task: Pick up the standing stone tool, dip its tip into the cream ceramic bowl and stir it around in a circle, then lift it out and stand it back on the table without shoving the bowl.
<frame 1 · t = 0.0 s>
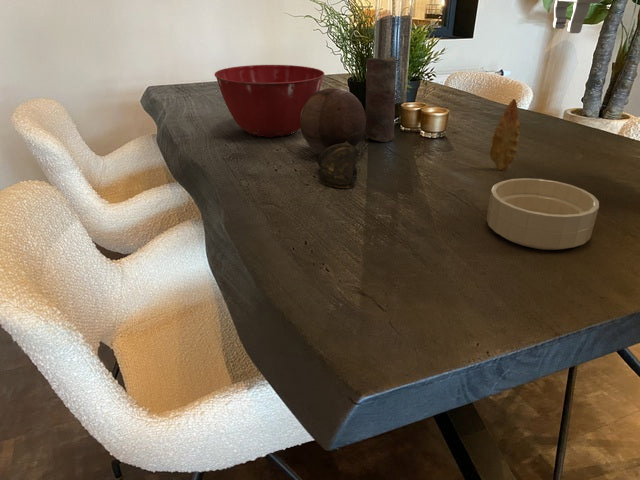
hand: (565, 30, 86), 28 cm above the table, tool pointing down, fingers open, 8 cm apart
bowl: (536, 230, 79), on the table
mixing bowl: (273, 131, 133), on the table
wooden sphere: (332, 154, 115), on the table
candle: (378, 139, 126), on the table
stone tool: (500, 170, 104), on the table
seashell: (337, 175, 102), on the table
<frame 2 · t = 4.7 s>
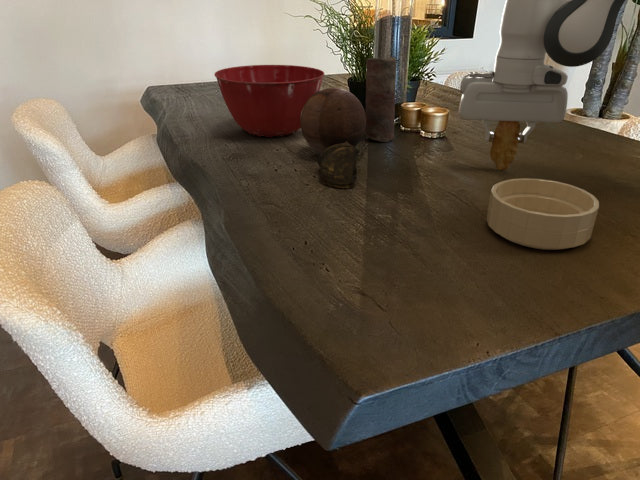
hand: (505, 141, 101), 6 cm above the table, tool pointing down, fingers closed on stone tool, 5 cm apart
wooden sphere: (332, 154, 115), on the table, touching seashell
stone tool: (500, 170, 104), on the table, touching gripper
seashell: (337, 175, 102), on the table, touching wooden sphere
everything else where it was.
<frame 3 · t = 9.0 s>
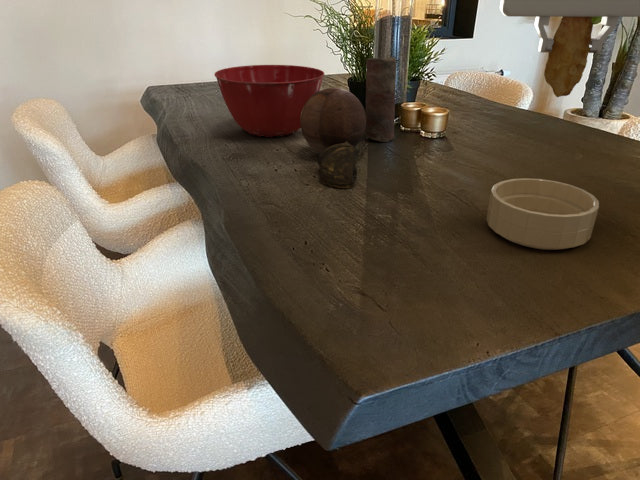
hand: (568, 52, 69), 27 cm above the table, tool pointing down, fingers closed on stone tool, 5 cm apart
stone tool: (558, 98, 72), point 20 cm above the table, touching gripper
everything else where it was.
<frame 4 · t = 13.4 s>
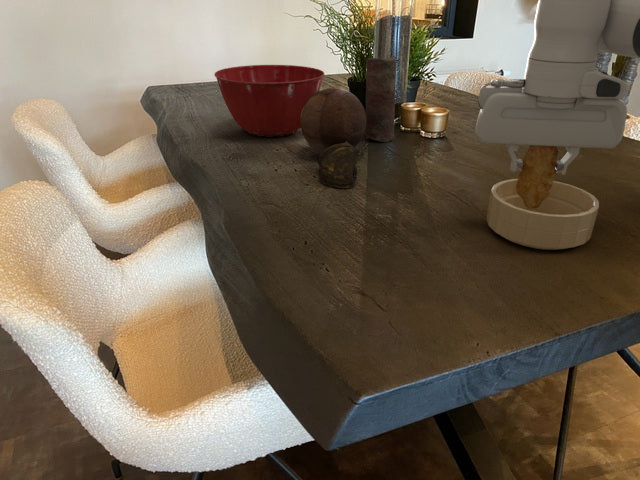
hand: (537, 172, 76), 9 cm above the table, tool pointing down, fingers closed on stone tool, 5 cm apart
stone tool: (529, 209, 79), point 3 cm above the table, touching gripper
everything else where it was.
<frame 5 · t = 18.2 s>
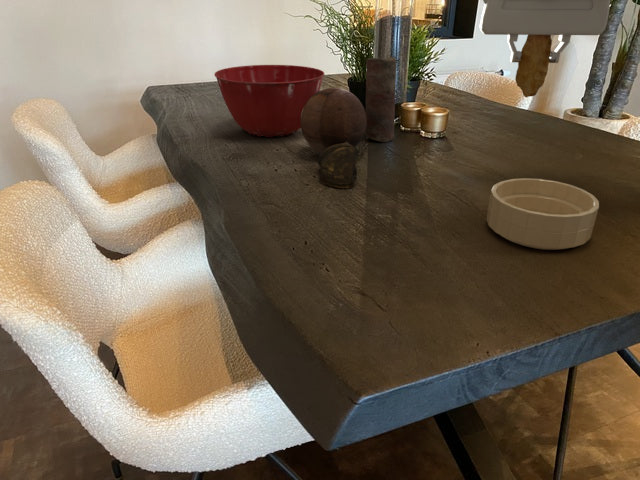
hand: (533, 62, 87), 23 cm above the table, tool pointing down, fingers closed on stone tool, 5 cm apart
stone tool: (527, 98, 90), point 16 cm above the table, touching gripper
everything else where it was.
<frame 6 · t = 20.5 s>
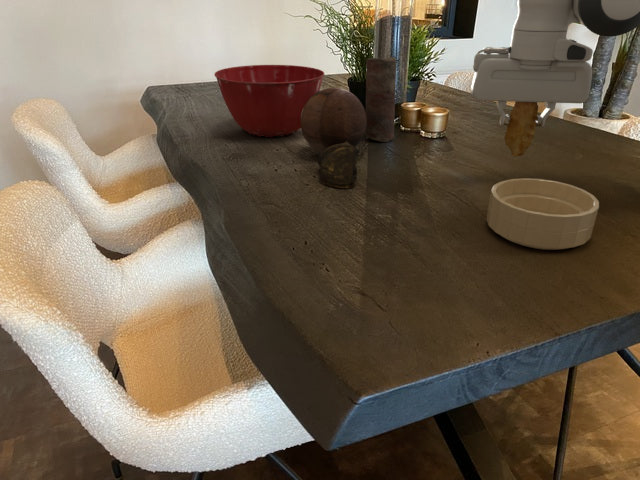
hand: (521, 125, 93), 11 cm above the table, tool pointing down, fingers closed on stone tool, 5 cm apart
stone tool: (515, 157, 96), point 5 cm above the table, touching gripper
everything else where it was.
when the fingers open (6 cm above the table, at t = 22.2 s): stone tool stays where it is, on the table.
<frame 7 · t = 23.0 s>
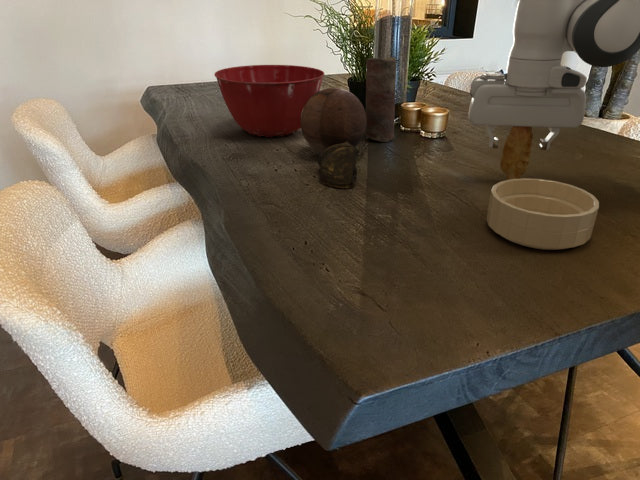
hand: (518, 148, 95), 7 cm above the table, tool pointing down, fingers open, 8 cm apart
stone tool: (510, 182, 98), on the table
everything else where it was.
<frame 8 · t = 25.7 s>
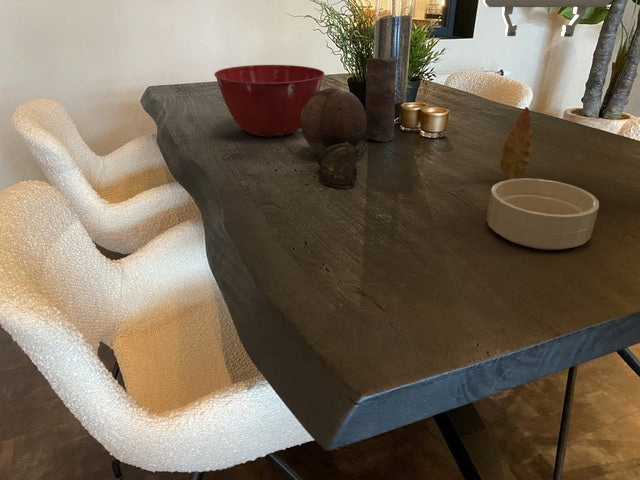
hand: (538, 36, 85), 27 cm above the table, tool pointing down, fingers open, 8 cm apart
nothing on the table moved.
at the end: stone tool inside the target area (0.0 cm from its centre), on the table; stone tool tilted 0°; bowl moved 0.0 cm from its start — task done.
